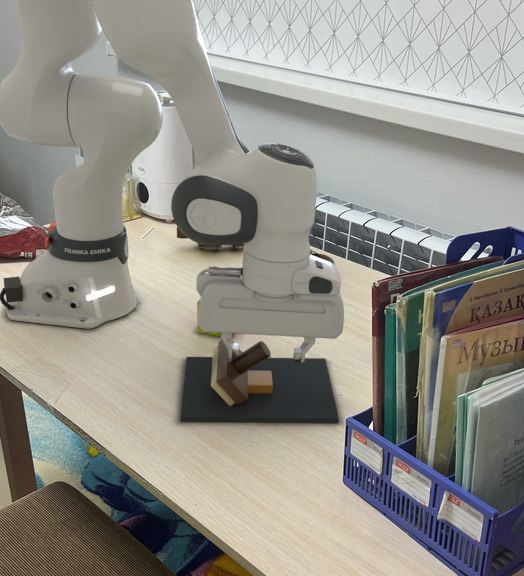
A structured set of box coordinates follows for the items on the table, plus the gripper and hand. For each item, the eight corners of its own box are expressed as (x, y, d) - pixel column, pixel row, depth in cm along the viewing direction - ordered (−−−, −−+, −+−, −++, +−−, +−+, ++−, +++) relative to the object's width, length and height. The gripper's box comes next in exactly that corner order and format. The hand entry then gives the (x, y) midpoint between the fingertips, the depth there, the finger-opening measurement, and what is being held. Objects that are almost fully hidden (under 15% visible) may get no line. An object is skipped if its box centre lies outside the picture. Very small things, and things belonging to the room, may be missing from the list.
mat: (180, 421, 95) (180, 417, 95) (186, 360, 109) (186, 356, 109) (338, 423, 97) (339, 418, 96) (325, 362, 110) (325, 358, 110)
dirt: (244, 393, 101) (245, 385, 100) (244, 378, 104) (244, 370, 103) (272, 393, 101) (272, 385, 100) (271, 378, 104) (271, 370, 104)
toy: (175, 222, 152) (243, 225, 154) (175, 253, 151) (243, 255, 154) (178, 211, 140) (251, 214, 143) (178, 244, 140) (251, 246, 143)
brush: (231, 410, 97) (277, 381, 95) (209, 386, 95) (255, 356, 93) (232, 367, 107) (274, 340, 104) (212, 345, 105) (254, 317, 102)
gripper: (195, 275, 89) (192, 366, 96) (352, 284, 90) (338, 373, 97) (198, 256, 94) (195, 344, 101) (346, 265, 96) (333, 351, 103)
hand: (266, 358), depth 99 cm, fingers open, 8 cm apart
